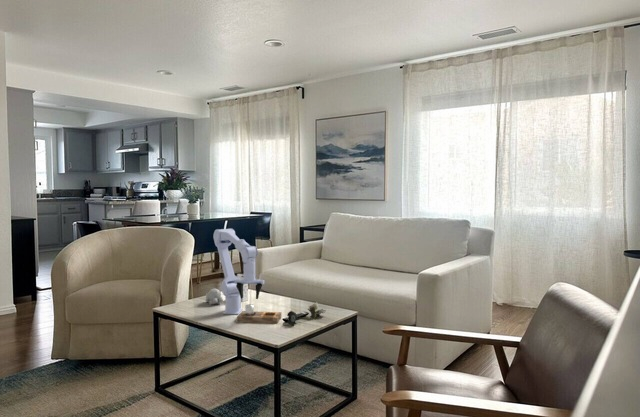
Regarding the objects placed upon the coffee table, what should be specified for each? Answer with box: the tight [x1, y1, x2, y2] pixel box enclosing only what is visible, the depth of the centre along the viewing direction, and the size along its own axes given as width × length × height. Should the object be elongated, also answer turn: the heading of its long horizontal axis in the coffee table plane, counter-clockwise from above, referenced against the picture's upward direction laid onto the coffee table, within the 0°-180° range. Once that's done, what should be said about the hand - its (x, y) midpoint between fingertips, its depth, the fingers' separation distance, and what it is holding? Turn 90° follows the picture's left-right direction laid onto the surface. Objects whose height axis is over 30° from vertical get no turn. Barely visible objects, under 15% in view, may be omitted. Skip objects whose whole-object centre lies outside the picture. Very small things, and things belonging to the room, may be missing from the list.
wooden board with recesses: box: [236, 310, 282, 324], centre depth 223 cm, size 10×20×3 cm, turn 84°
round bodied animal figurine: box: [205, 288, 224, 306], centre depth 253 cm, size 7×12×8 cm, turn 47°
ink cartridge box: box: [236, 273, 249, 303], centre depth 261 cm, size 9×5×15 cm, turn 58°
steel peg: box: [245, 303, 255, 316], centre depth 223 cm, size 4×4×7 cm
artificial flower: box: [287, 301, 327, 326], centre depth 223 cm, size 9×22×10 cm, turn 133°
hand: (249, 298), depth 223 cm, fingers open, 7 cm apart
